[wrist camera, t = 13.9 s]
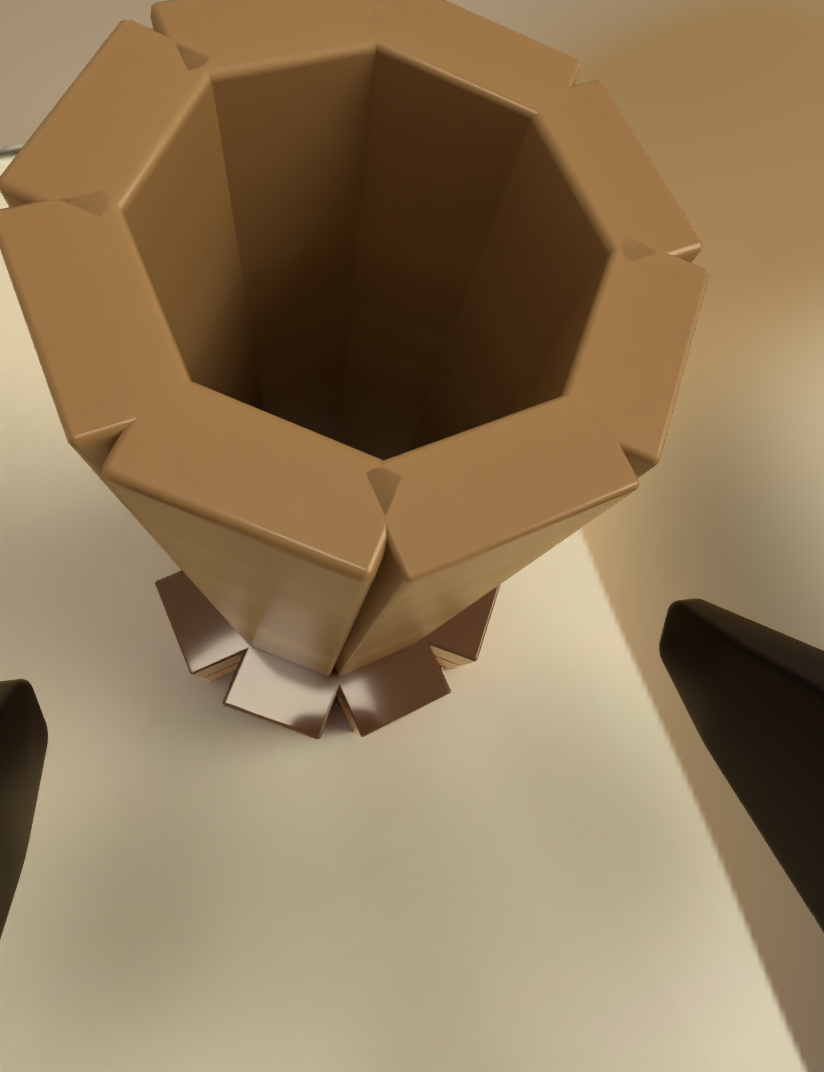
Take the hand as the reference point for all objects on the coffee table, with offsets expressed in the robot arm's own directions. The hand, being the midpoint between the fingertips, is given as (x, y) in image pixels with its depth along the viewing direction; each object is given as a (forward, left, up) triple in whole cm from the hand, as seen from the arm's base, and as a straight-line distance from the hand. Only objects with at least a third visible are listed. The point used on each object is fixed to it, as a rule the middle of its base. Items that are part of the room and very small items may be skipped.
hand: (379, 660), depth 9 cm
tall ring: (+2, -3, -8) cm, 8 cm away
